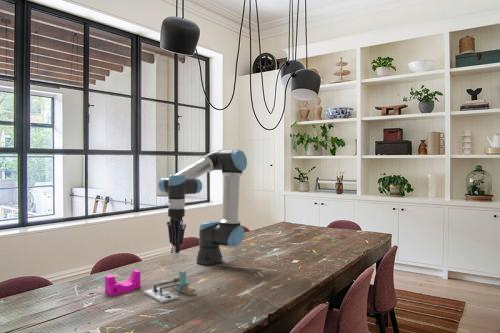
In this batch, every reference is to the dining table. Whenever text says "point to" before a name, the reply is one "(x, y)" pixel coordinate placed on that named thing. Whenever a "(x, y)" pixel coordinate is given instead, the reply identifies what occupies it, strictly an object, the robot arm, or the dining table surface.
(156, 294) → the bolt plate
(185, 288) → the rail
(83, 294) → the dining table surface
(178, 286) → the sliding trammel head
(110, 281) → the toy block
